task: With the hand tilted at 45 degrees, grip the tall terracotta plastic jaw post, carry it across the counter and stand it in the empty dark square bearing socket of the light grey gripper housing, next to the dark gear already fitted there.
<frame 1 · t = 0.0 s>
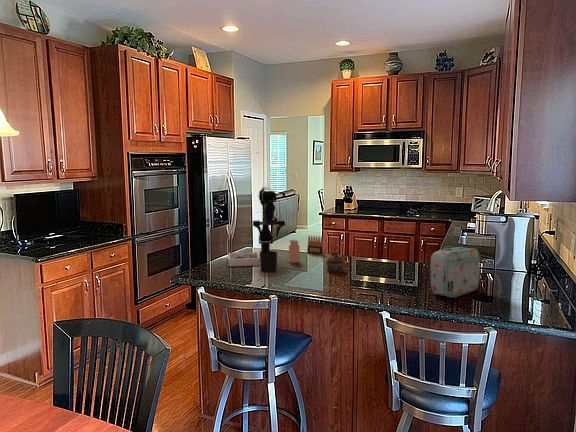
hand: (268, 237, 259), 15 cm above the table, tool pointing down, fingers open, 9 cm apart
pen holder: (268, 270, 239), on the table
housing: (243, 262, 259), on the table
lunch box: (454, 293, 197), on the table
ammunition clip: (315, 254, 285), on the table
jaw post: (294, 261, 261), on the table
cupcake: (334, 271, 239), on the table
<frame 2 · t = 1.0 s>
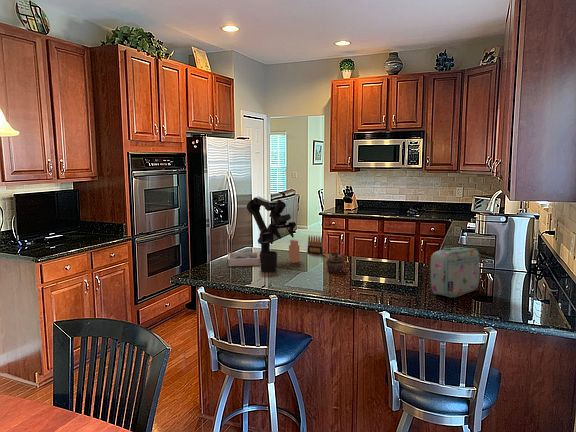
hand: (286, 237, 266), 13 cm above the table, tool tilted 45°, fingers open, 9 cm apart
nothing on the table moved.
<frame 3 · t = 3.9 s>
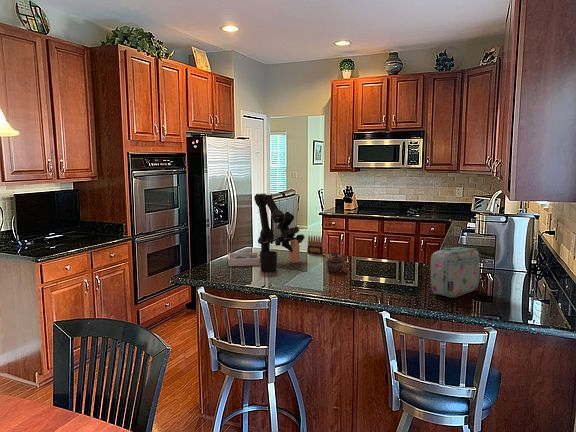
hand: (295, 251, 259), 7 cm above the table, tool tilted 45°, fingers closed on jaw post, 4 cm apart
jaw post: (294, 261, 261), on the table, touching gripper
everything else where it was.
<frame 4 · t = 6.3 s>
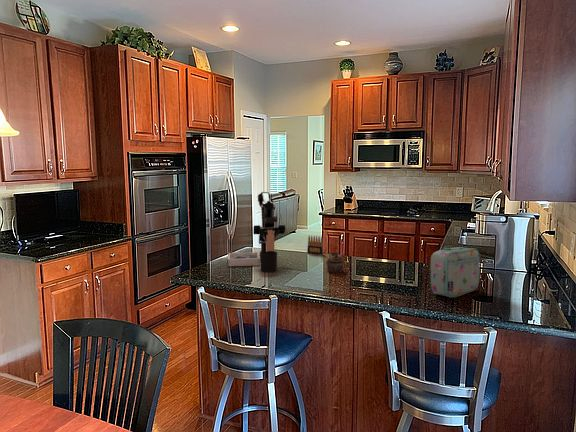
hand: (270, 241, 253), 13 cm above the table, tool tilted 45°, fingers closed on jaw post, 4 cm apart
jaw post: (270, 251, 256), point 7 cm above the table, touching gripper
everything else where it was.
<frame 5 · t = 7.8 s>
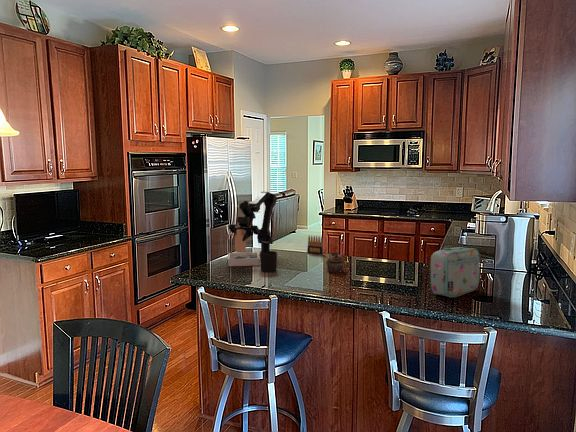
hand: (239, 240, 255), 13 cm above the table, tool tilted 45°, fingers closed on jaw post, 4 cm apart
jaw post: (240, 251, 257), point 7 cm above the table, touching gripper
everything else where it was.
when the fingers open (9 cm above the table, at t = 9.2 s): jaw post drops 1 cm, resting on housing.
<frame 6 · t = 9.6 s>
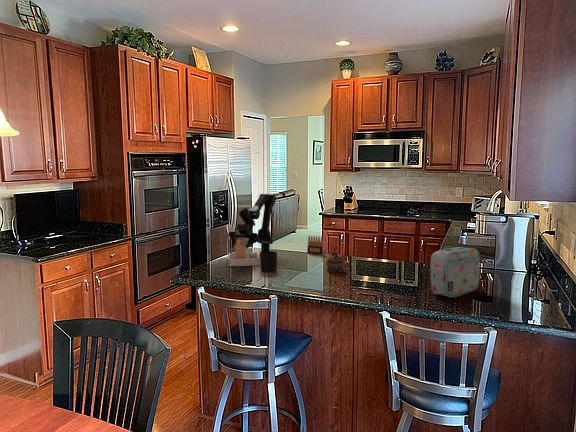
hand: (239, 248, 256), 9 cm above the table, tool tilted 45°, fingers open, 9 cm apart
jaw post: (240, 261, 258), point 1 cm above the table, touching housing
everything else where it was.
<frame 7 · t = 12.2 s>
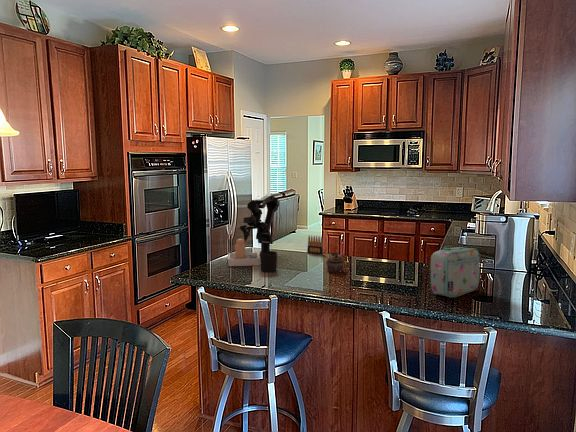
hand: (250, 240, 264), 12 cm above the table, tool tilted 35°, fingers open, 9 cm apart
nothing on the table moved.
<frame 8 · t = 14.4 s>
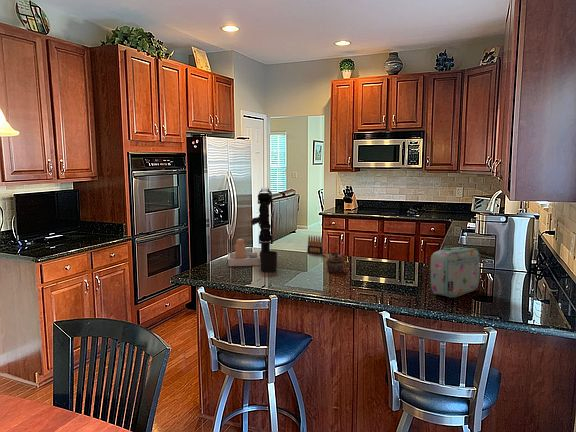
hand: (264, 238, 267), 13 cm above the table, tool pointing down, fingers open, 9 cm apart
nothing on the table moved.
at the end: jaw post 0.0 cm from the target spot on the housing, point 1.0 cm above the housing's base; jaw post tilted 0°; the gripper is holding nothing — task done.
